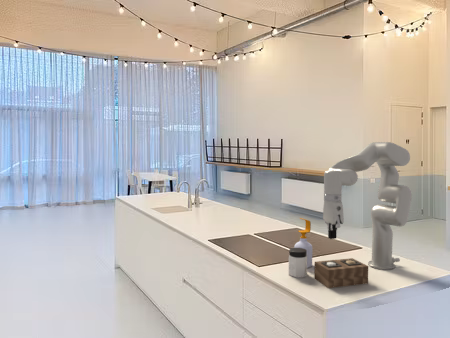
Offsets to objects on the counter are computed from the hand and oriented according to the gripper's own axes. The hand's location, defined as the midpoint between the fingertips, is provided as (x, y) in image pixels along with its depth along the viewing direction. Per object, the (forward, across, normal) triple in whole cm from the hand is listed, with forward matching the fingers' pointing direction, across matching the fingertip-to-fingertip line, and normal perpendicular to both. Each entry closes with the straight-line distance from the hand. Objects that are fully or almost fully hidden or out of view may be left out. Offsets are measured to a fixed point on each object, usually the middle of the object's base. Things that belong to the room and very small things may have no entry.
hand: (332, 238), depth 169 cm
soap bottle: (+20, +25, +2) cm, 32 cm away
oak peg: (+20, 0, -9) cm, 22 cm away
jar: (+20, +13, +11) cm, 26 cm away
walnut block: (+20, 0, -4) cm, 21 cm away
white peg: (+20, 0, +1) cm, 20 cm away
